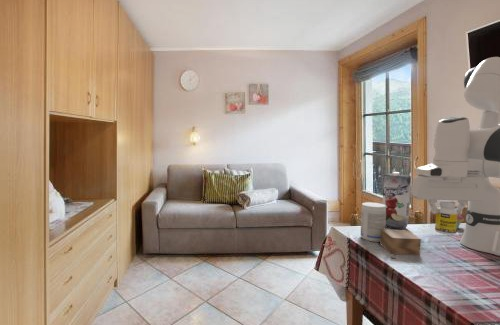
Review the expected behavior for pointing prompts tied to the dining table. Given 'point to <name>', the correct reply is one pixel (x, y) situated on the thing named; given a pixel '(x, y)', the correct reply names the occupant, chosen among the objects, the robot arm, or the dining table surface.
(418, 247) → the walnut block
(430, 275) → the dining table surface
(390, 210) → the juice carton
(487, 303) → the dining table surface
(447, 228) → the supplement bottle
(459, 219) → the cupcake
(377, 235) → the supplement tub
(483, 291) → the dining table surface
